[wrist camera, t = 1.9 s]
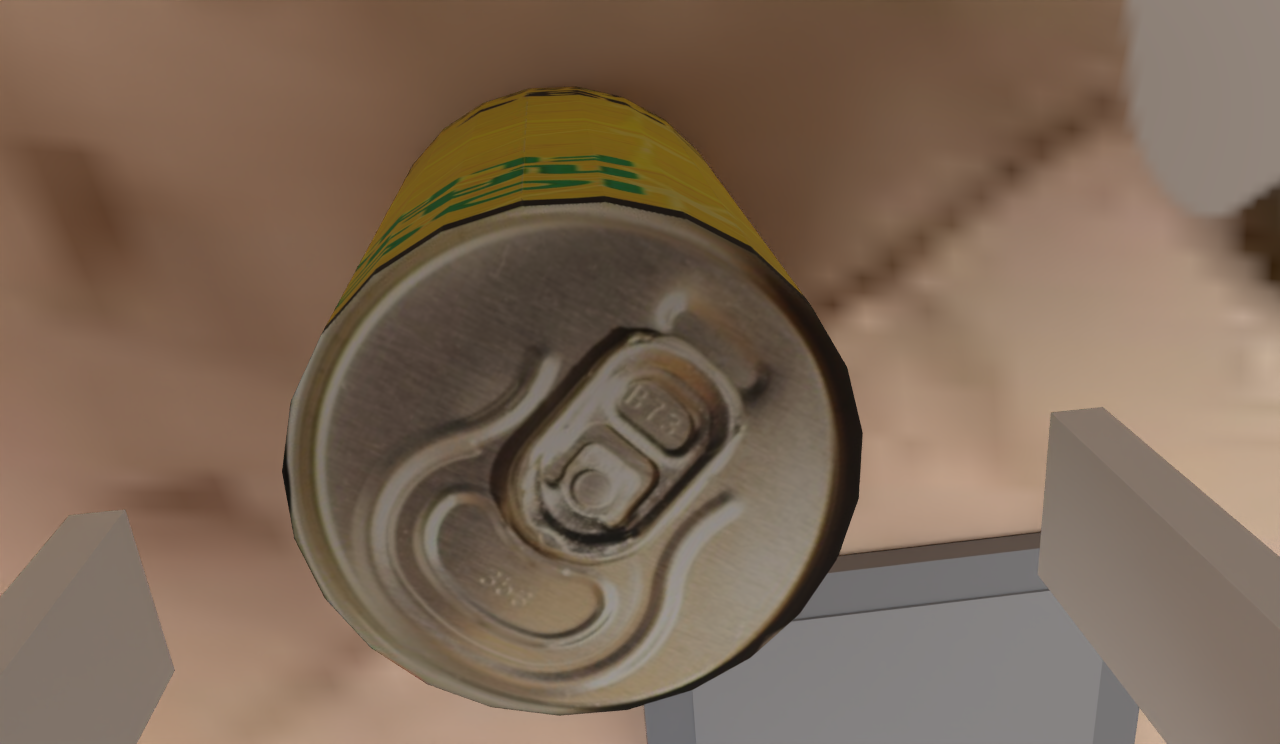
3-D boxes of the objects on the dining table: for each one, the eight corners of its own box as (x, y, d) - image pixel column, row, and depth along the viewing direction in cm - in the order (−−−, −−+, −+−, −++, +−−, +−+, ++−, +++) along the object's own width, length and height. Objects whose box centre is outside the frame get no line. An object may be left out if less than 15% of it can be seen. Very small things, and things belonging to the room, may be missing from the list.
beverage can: (322, 306, 27) (175, 560, 16) (512, 9, 25) (492, 69, 14) (604, 473, 30) (644, 790, 19) (801, 219, 27) (979, 411, 16)
